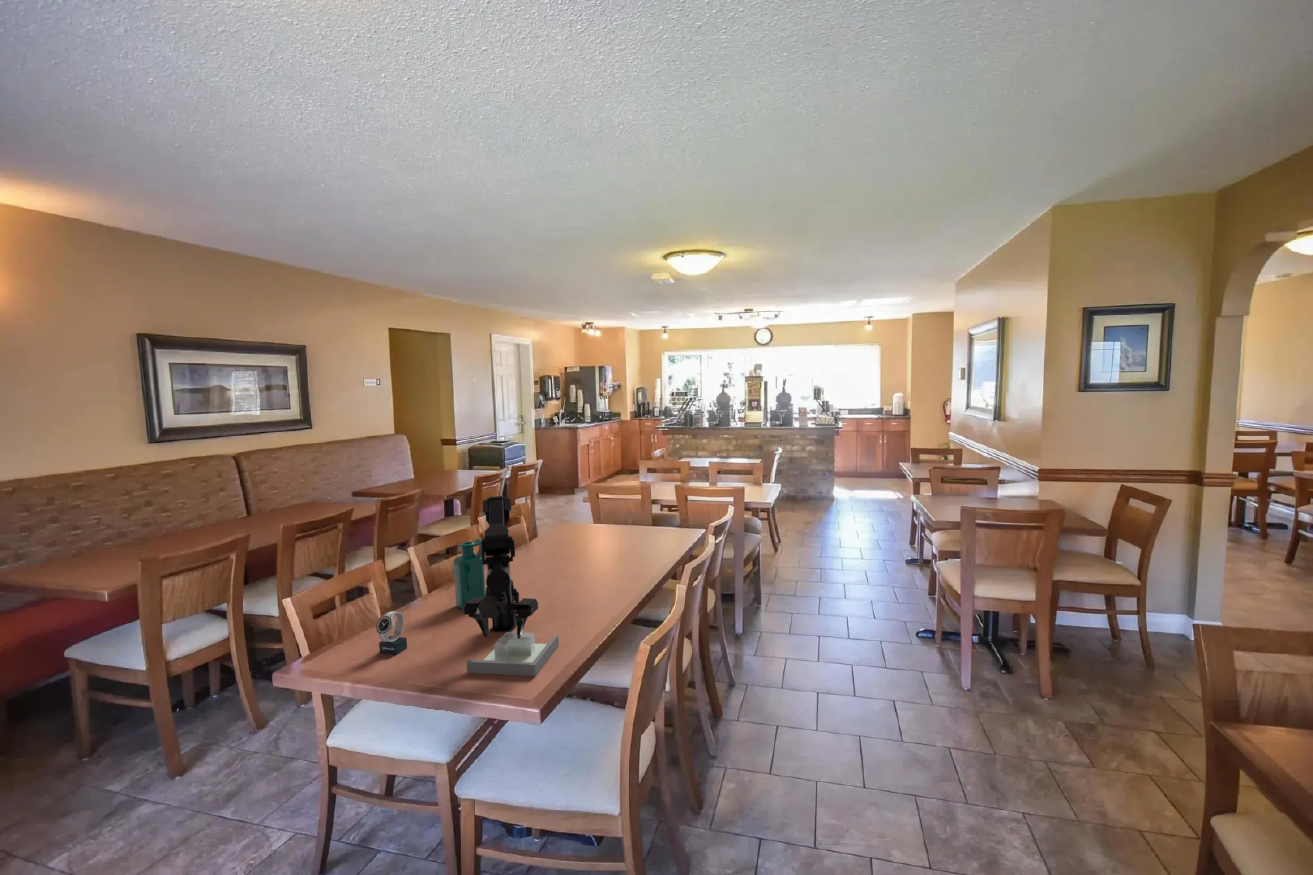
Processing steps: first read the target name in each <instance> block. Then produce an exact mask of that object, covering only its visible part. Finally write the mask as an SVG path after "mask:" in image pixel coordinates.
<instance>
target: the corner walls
mask: <svg viewBox="0 0 1313 875" xmlns="http://www.w3.org/2000/svg"><path fill="white" fill-rule="evenodd" d="M559 641H560V640H559V635H558V634H554V635H553V636H552V637H551V638H550V639H549V641H548V642H547V643H546V644H547V645H546V646H545V647H544V649H543V650H542V651H541V652H540V654H539V655H538V656H537V657H536V659H535V660H534V661H533V662H513V661H490V660H484V659H468V660H466V661H465V662H466V673H467V674H478V675H497V676H498V675H500V676H501V675H503V676H504V675H505V676H518V677H519V676H521V677H537V676H538V674H539V672H541V670H543V667H544V666H545V665H546V664H547V662H548V661H549V660H550V658H551V657H552V655H553V654H554V653H555V651H556V650H557V649H558V648H559V645H560V642H559Z"/></svg>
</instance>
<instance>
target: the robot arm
mask: <svg viewBox="0 0 1313 875" xmlns="http://www.w3.org/2000/svg"><path fill="white" fill-rule="evenodd" d="M481 504H482V515H484V516H485V521H486V522H487V524H488V527H487V528H486V529H485V530H484V533H483V534H484V535H483V538H481V539H482V565H484V566H485V565H486V570H487V572H486V577H485V590H486V594H485V597H473V598H472V599H470V600H469V601H468V602H466V603H465V604H464V607H463V610H462V611H463V615H466V616H468V617H469V618H472V619H474V620H475V621H476V623H477V624H478V625H479V629H480V630H481V633H482V634H483V637H484V639H487V638H488V637H489V631H490V632H512V630H513V629H514V628H515V627H516V632H517V637H518V639H520V638H521V635H522V632H524V629H525V625H526V622H527V620H528V618H529V617H531V616H532V615H534V614H535V613H536V611H537V610H538V609H539V602H538V600H537V599H536V598H522V599H521V600H520V592H518V590H517V588H516V587H515V586H514V581H513V580H512V578H511V567H510V566H511V565H510V562H514V558H515V557H516V548H515V539H514V538H513V536H512V535H510V532H509V531H510V530H509V528H508V527H506V526H507V524H508V523H509V522H510V521H509V520H510V514H511V513H513V511H512V510H513V509H512V508H513V507H512V498H509V497H506V496H503V495H496V496H494V495H493V496H489V497H487V498H486V499H484V500H482V503H481ZM489 619H491V622H492V626H491V627H489Z"/></svg>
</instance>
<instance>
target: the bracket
mask: <svg viewBox="0 0 1313 875" xmlns="http://www.w3.org/2000/svg"><path fill="white" fill-rule="evenodd" d="M535 636H536V635H535V632H525V631H523V632H522V635H521V638H520V639H518V637H517V631H505V633H504V634H503V635H502V636H501V637H500V638H499V639H497V641H496V642H495V643H494V644H493V650H494V652H495V661H509V659H510V658H511V657H512V656H513V655H532V654H533V653H534V651H535V644H536V640H535V639H536V638H535Z"/></svg>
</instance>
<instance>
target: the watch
mask: <svg viewBox="0 0 1313 875" xmlns="http://www.w3.org/2000/svg"><path fill="white" fill-rule="evenodd" d="M395 616H396V622H395ZM404 626H405V617H404V614H403V613H402V612H400V611H392V610H391V611H388V612H386V613H385V614H384V615H382V616H381V617H380V618H379V619H378V620H377V622H376V625H375V629H376V632H377V635H378V637H379V639H380V640H381V641H379V642H378V647H379V654H382V655H389V656H390V655H393V656H397V655H399V654H401V653H402V652H404V651H405V650H407V649H408V642H407V641H408V640H407V639H408V638H407V637H403V636H401V635H403V634H402V633H403V631H404ZM393 629H394V630H393ZM392 631H393V635H391V636H390V634H391V632H392Z"/></svg>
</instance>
